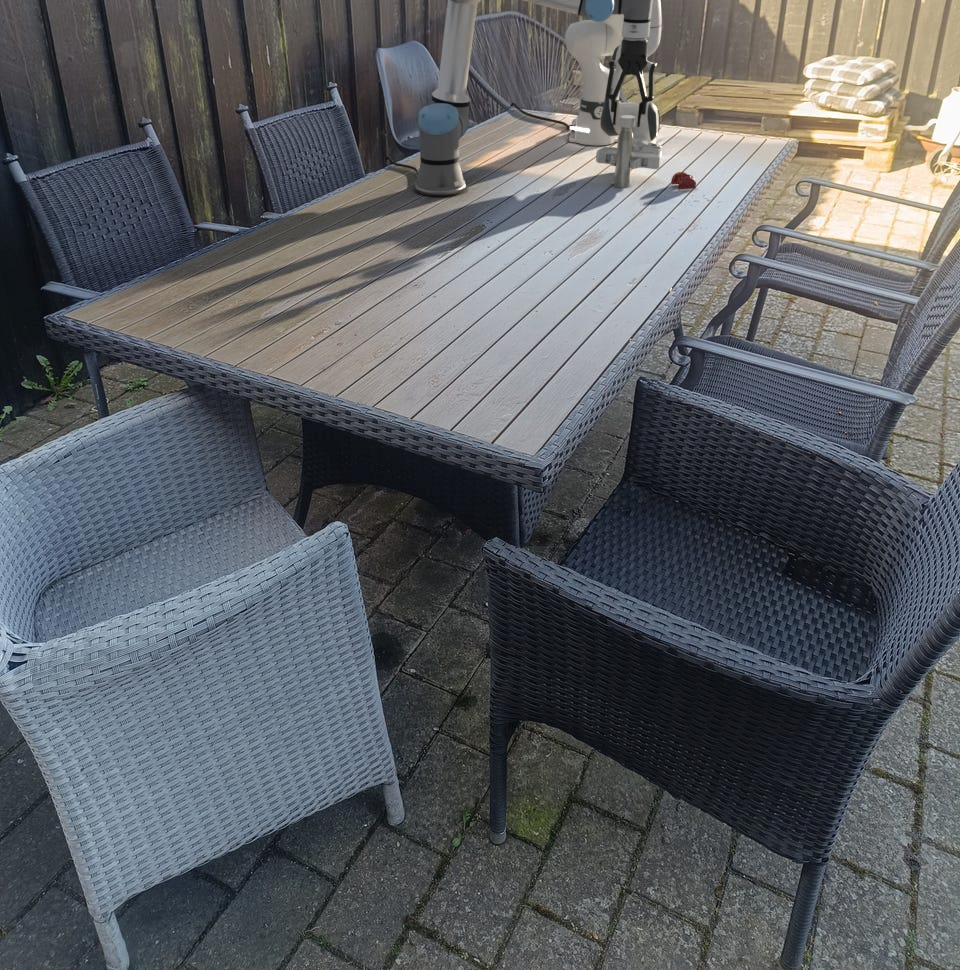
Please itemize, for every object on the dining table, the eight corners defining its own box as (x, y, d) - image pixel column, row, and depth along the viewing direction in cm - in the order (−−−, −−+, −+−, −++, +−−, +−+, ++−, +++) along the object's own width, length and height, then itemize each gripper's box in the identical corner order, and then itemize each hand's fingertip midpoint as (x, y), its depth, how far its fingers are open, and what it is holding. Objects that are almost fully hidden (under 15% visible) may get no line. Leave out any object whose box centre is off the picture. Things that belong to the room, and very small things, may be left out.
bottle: (617, 182, 265) (623, 117, 254) (630, 184, 263) (637, 118, 252) (611, 186, 262) (617, 120, 250) (625, 188, 260) (631, 121, 248)
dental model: (687, 168, 262) (698, 175, 256) (685, 181, 264) (697, 189, 258) (670, 170, 261) (681, 177, 255) (669, 183, 263) (680, 191, 257)
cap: (622, 123, 254) (623, 114, 253) (636, 125, 253) (637, 116, 251) (617, 126, 251) (618, 117, 250) (631, 128, 250) (632, 119, 248)
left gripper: (598, 38, 238) (592, 124, 252) (667, 42, 233) (657, 130, 246) (604, 35, 244) (598, 119, 258) (672, 38, 238) (662, 124, 252)
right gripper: (603, 139, 269) (590, 150, 259) (666, 146, 263) (656, 156, 253) (601, 160, 273) (589, 171, 263) (663, 166, 267) (653, 178, 256)
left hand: (627, 124), depth 252 cm, fingers open, 7 cm apart
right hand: (622, 164), depth 258 cm, fingers closed on bottle, 4 cm apart
